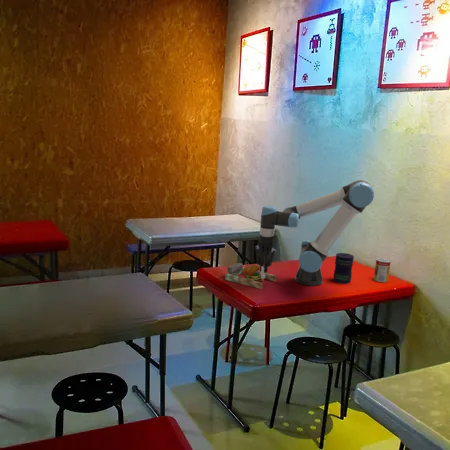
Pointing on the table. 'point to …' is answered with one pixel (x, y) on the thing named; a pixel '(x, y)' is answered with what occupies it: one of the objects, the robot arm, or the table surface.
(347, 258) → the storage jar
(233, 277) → the open wooden tray
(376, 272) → the canned food
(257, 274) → the cheeseburger
